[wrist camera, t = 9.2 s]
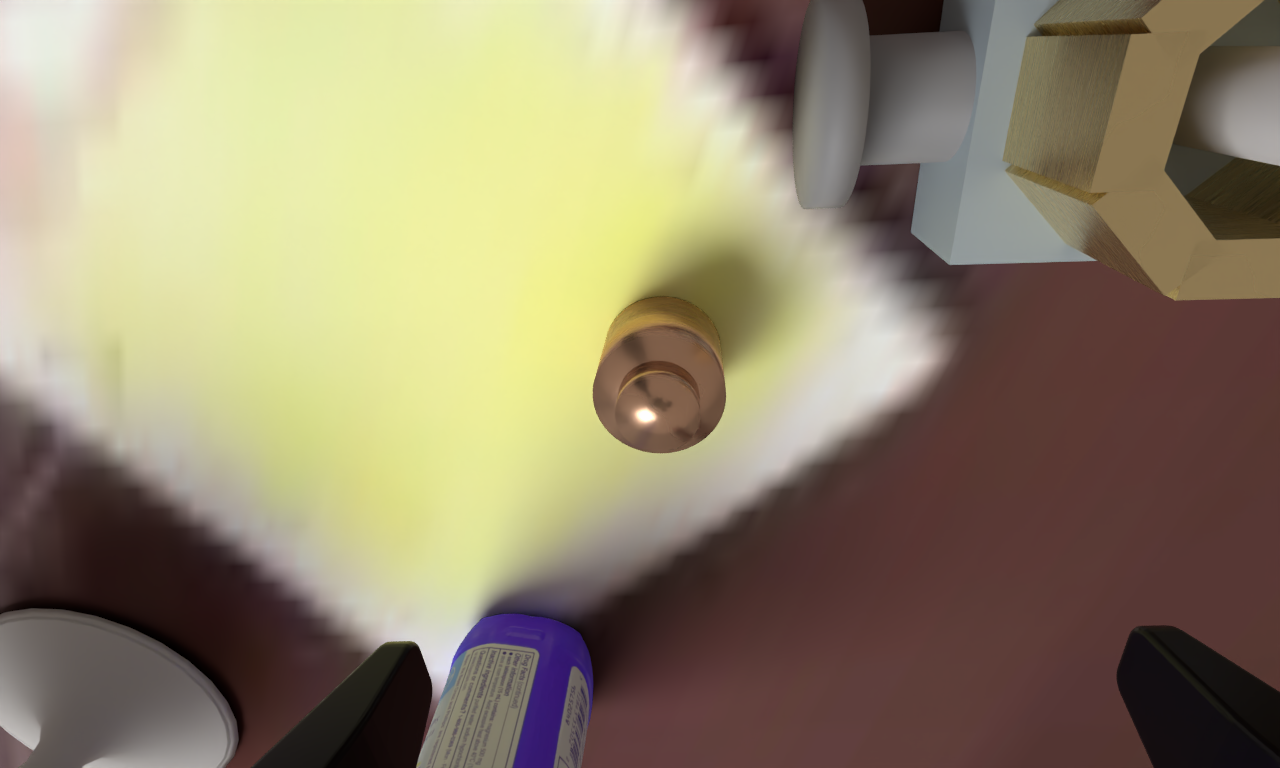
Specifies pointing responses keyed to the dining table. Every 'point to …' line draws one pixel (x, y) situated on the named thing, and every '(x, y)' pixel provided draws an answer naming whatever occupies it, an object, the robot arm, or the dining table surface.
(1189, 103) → the valve
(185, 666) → the chalice
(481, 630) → the bottle
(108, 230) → the dining table surface
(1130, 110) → the nut
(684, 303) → the cap
